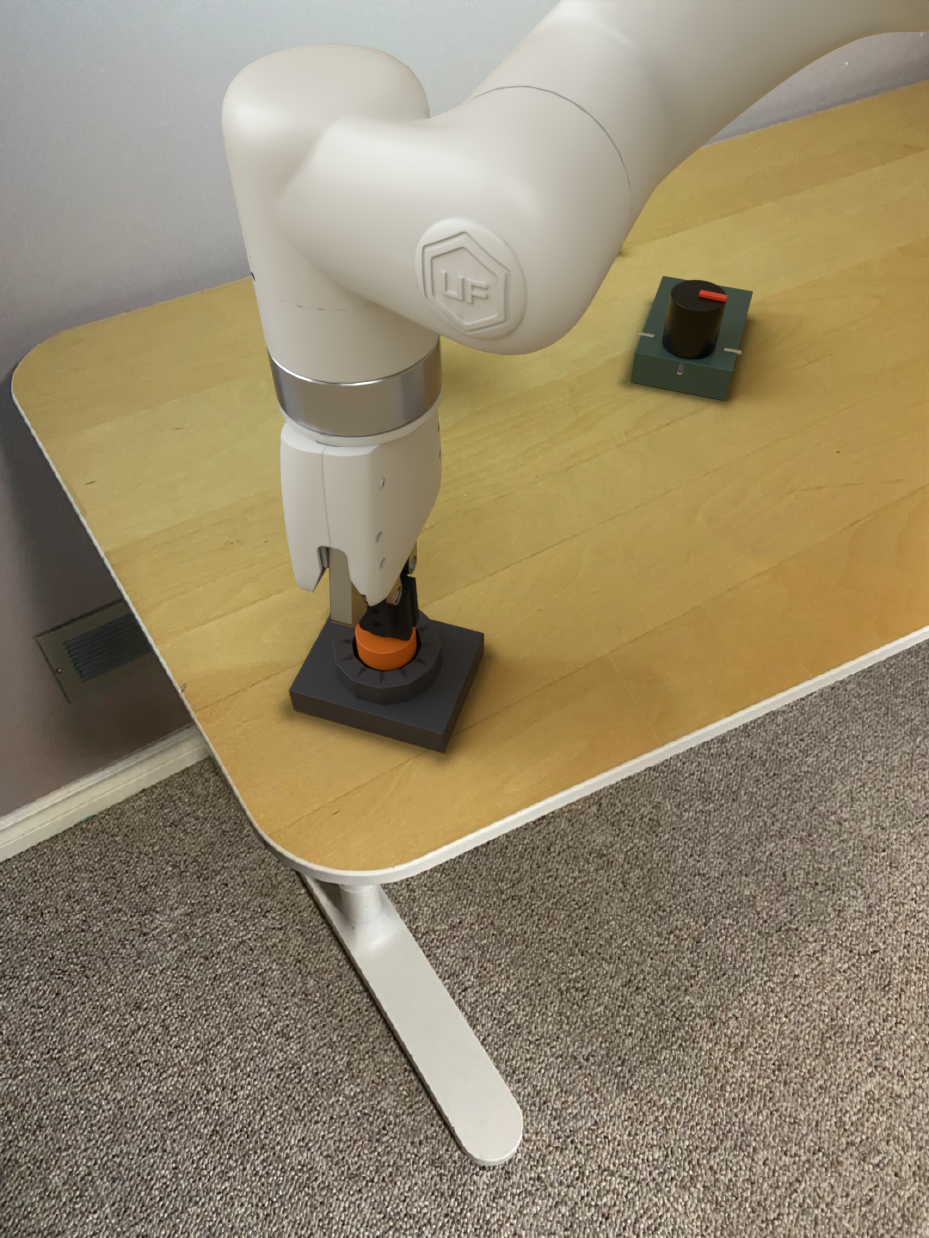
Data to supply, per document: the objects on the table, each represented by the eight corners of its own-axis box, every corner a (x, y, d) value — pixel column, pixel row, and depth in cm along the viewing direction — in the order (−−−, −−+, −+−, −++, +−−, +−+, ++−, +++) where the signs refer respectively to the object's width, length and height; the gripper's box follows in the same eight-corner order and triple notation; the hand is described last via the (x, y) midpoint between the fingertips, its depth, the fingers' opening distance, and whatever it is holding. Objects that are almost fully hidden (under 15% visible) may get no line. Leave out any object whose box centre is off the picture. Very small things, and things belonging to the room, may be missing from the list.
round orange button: (424, 632, 59) (423, 614, 58) (404, 677, 57) (402, 659, 56) (370, 618, 60) (368, 600, 59) (348, 662, 58) (345, 644, 57)
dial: (656, 353, 78) (665, 300, 75) (668, 323, 81) (678, 271, 77) (709, 364, 77) (721, 312, 74) (720, 334, 80) (733, 282, 76)
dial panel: (654, 304, 88) (659, 273, 86) (749, 321, 86) (757, 289, 84) (621, 394, 80) (626, 362, 77) (725, 415, 78) (733, 383, 76)
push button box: (484, 653, 63) (484, 614, 60) (444, 753, 58) (442, 717, 55) (343, 616, 65) (336, 577, 62) (293, 710, 60) (283, 673, 57)
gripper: (345, 267, 48) (377, 526, 62) (201, 457, 39) (277, 709, 53) (488, 291, 46) (487, 552, 61) (373, 495, 37) (404, 745, 52)
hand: (389, 625), depth 57 cm, fingers closed
